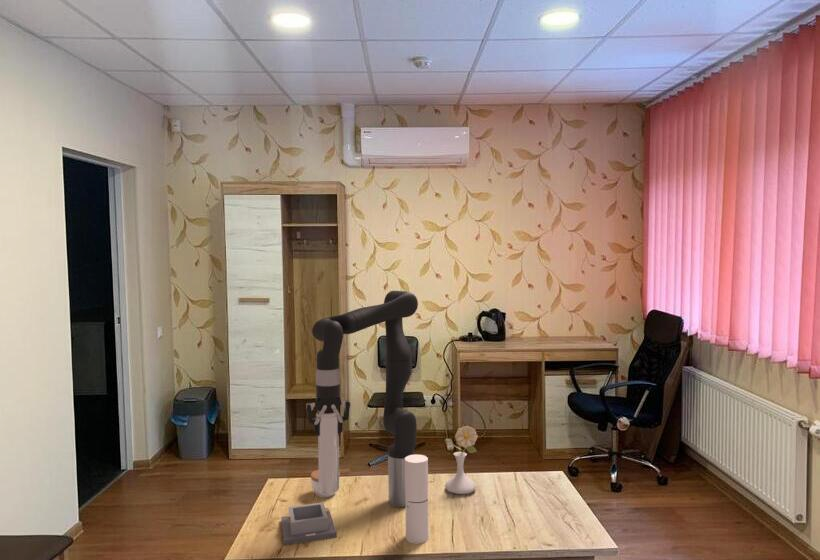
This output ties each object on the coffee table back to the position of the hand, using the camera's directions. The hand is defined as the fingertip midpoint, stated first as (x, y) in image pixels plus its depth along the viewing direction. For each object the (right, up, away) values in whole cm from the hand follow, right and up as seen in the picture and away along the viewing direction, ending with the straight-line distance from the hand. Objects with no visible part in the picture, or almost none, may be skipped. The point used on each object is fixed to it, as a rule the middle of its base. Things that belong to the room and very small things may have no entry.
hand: (328, 434), depth 179 cm
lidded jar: (-5, -30, +29) cm, 42 cm away
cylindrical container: (+28, -31, -4) cm, 42 cm away
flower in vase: (+46, -29, +30) cm, 62 cm away
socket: (-7, -31, +2) cm, 32 cm away
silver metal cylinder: (0, -18, +1) cm, 18 cm away
